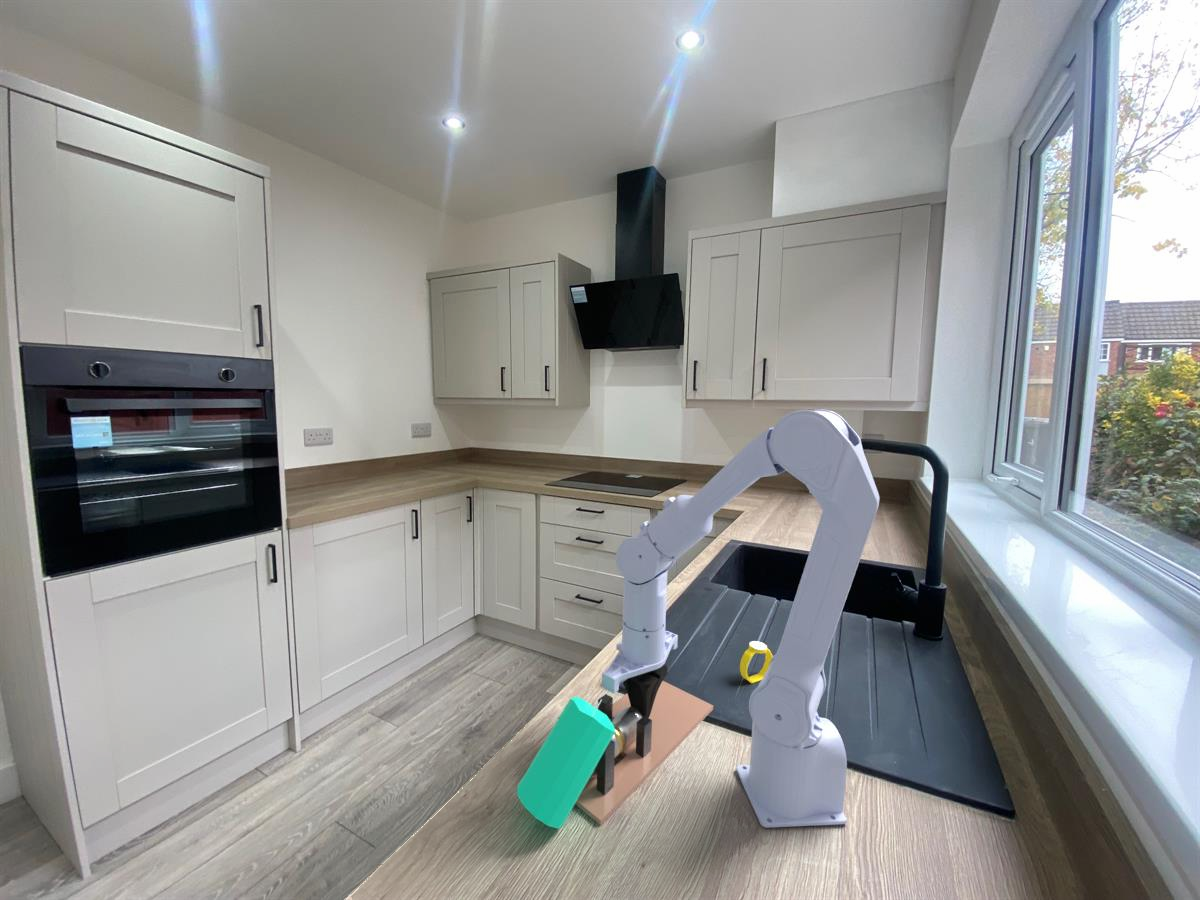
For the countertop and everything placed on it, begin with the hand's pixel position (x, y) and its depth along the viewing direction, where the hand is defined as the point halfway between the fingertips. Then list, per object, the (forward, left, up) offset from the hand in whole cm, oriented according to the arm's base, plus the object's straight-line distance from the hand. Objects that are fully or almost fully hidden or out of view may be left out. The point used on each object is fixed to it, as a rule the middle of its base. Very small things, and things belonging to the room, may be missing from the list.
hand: (640, 716), depth 63 cm
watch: (-21, -10, -2) cm, 23 cm away
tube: (+5, +5, -1) cm, 7 cm away
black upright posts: (+5, +5, -1) cm, 8 cm away
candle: (+13, +14, 0) cm, 19 cm away
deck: (+1, +2, -2) cm, 3 cm away
